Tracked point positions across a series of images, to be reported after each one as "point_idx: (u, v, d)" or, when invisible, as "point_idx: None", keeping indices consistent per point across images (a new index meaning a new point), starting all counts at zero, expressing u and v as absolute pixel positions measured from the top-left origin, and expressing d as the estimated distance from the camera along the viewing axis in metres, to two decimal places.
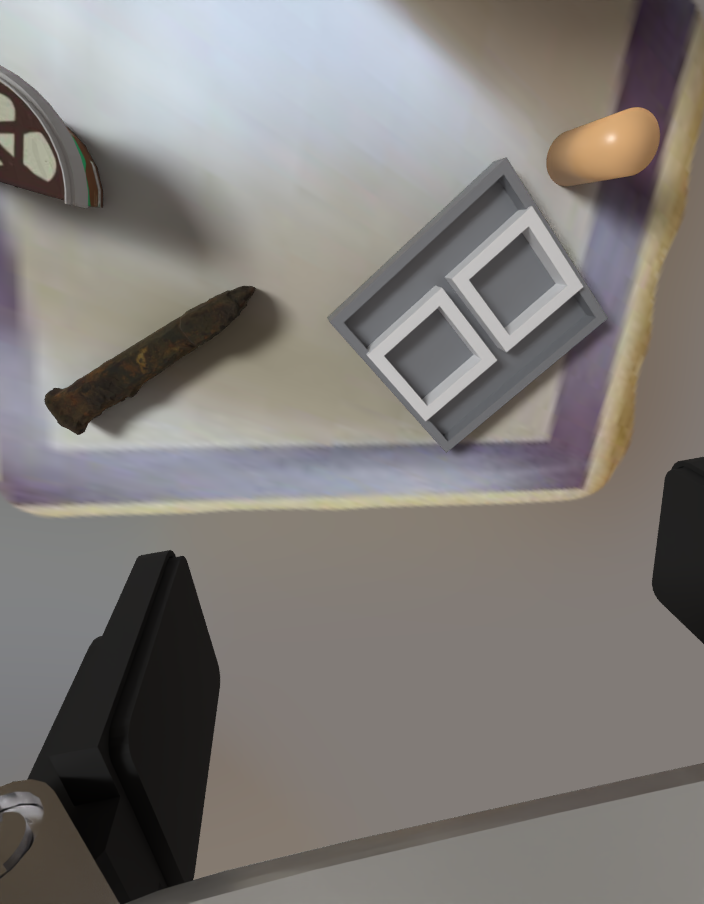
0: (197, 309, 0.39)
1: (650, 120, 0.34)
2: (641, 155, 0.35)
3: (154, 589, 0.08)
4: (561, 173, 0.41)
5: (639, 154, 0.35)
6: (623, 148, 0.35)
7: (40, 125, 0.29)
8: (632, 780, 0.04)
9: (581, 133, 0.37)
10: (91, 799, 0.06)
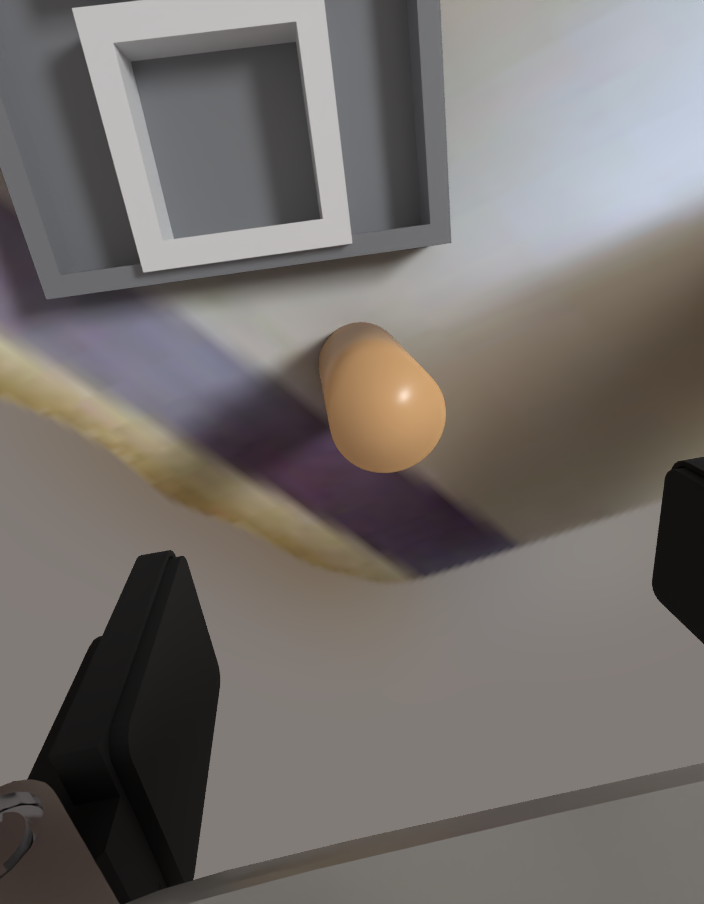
0: None
1: (398, 462, 0.18)
2: (355, 429, 0.18)
3: (154, 589, 0.08)
4: (362, 329, 0.22)
5: (359, 427, 0.18)
6: (387, 401, 0.17)
7: None
8: (632, 780, 0.04)
9: None
10: (91, 799, 0.06)
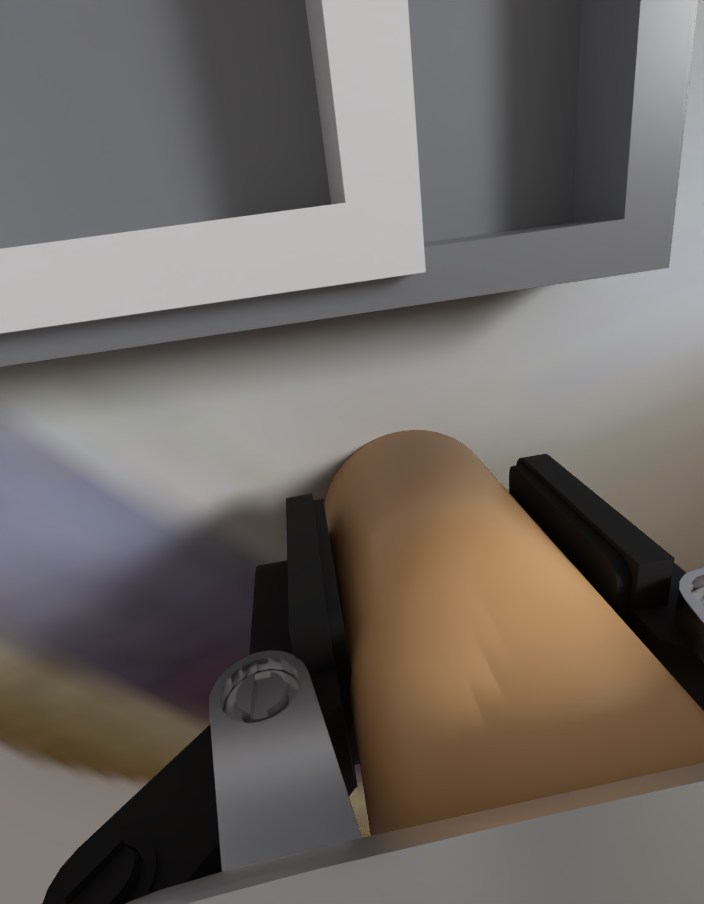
0: None
1: None
2: None
3: (313, 521, 0.09)
4: (429, 467, 0.10)
5: None
6: None
7: None
8: (632, 780, 0.04)
9: None
10: (315, 670, 0.07)
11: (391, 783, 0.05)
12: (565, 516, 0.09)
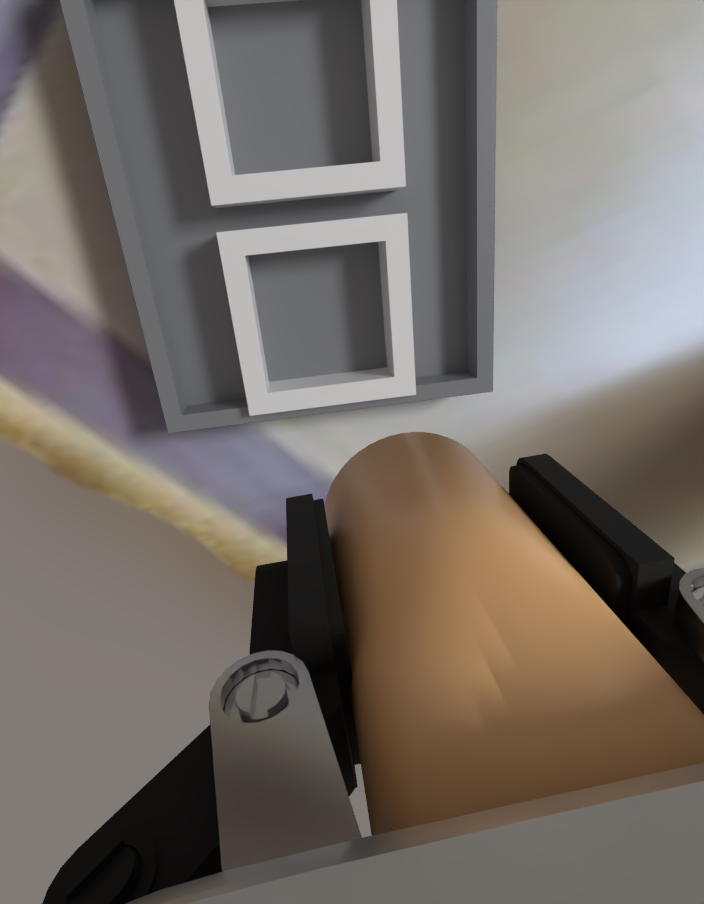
0: None
1: None
2: None
3: (313, 521, 0.09)
4: (429, 469, 0.10)
5: None
6: None
7: None
8: (631, 780, 0.04)
9: None
10: (315, 670, 0.07)
11: (392, 786, 0.05)
12: (565, 516, 0.09)
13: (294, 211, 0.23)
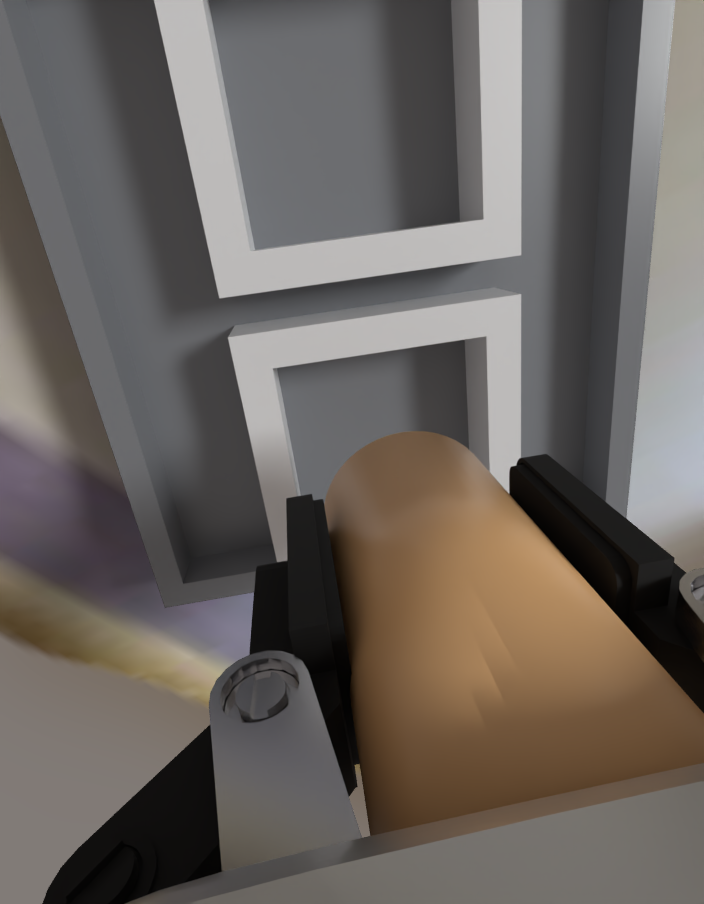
0: None
1: None
2: None
3: (313, 521, 0.09)
4: (429, 468, 0.10)
5: None
6: None
7: None
8: (631, 780, 0.04)
9: None
10: (315, 670, 0.07)
11: (391, 785, 0.05)
12: (565, 516, 0.09)
13: (342, 290, 0.16)
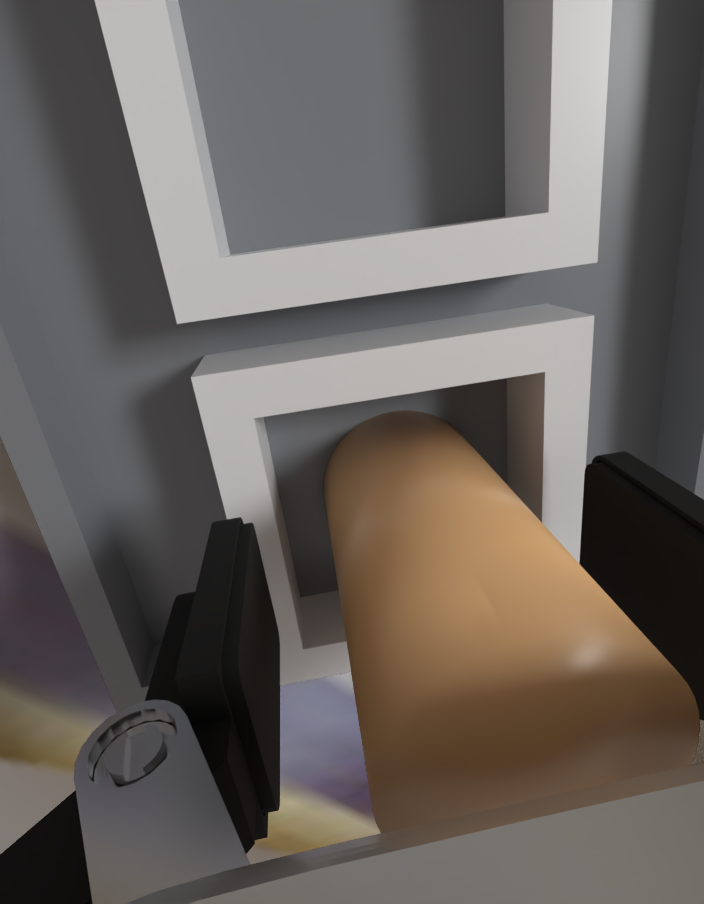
0: None
1: None
2: (445, 804, 0.06)
3: (234, 548, 0.09)
4: (415, 439, 0.11)
5: (455, 797, 0.06)
6: (543, 736, 0.06)
7: None
8: (631, 780, 0.04)
9: None
10: (207, 719, 0.06)
11: (374, 669, 0.07)
12: (663, 515, 0.08)
13: (348, 308, 0.12)
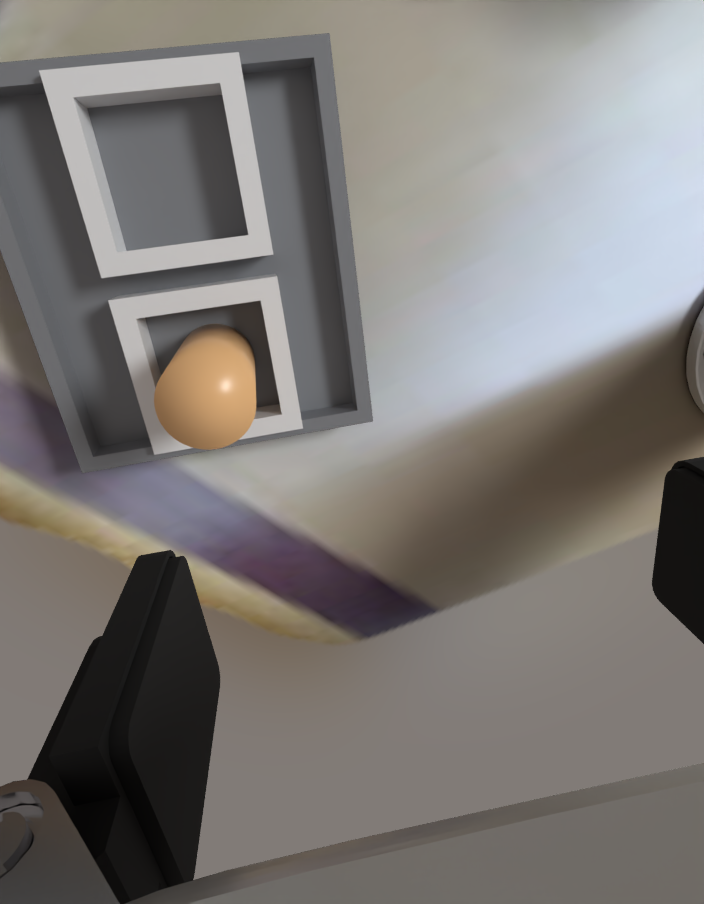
0: None
1: (220, 440, 0.22)
2: (178, 413, 0.21)
3: (154, 589, 0.08)
4: (208, 329, 0.26)
5: (181, 410, 0.21)
6: (203, 388, 0.21)
7: None
8: (632, 780, 0.04)
9: (250, 362, 0.24)
10: (91, 799, 0.06)
11: None
12: None
13: (182, 275, 0.26)
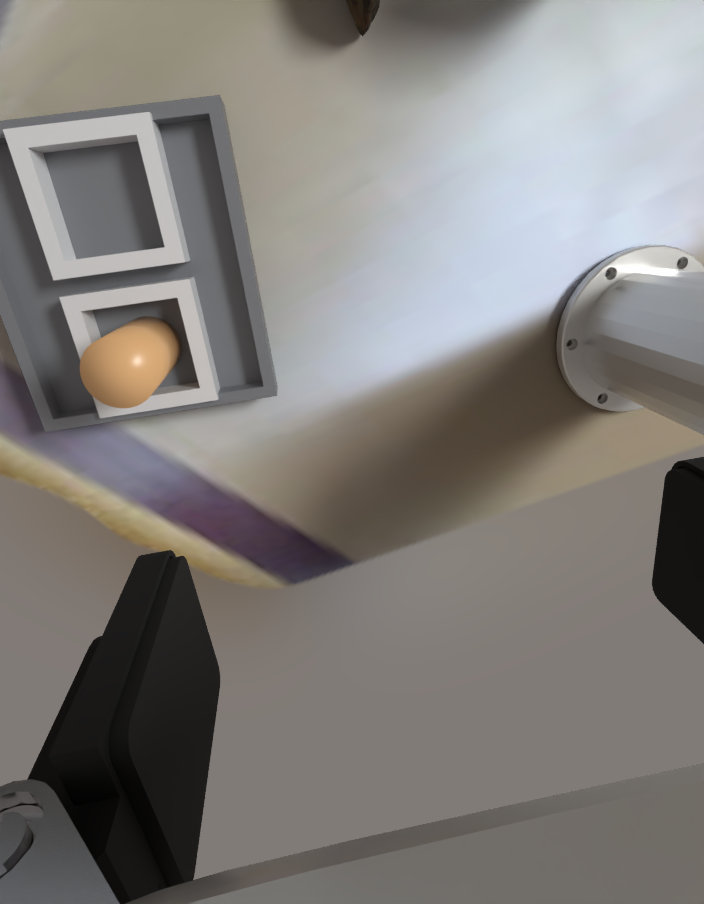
0: None
1: (131, 401, 0.29)
2: (98, 379, 0.29)
3: (154, 589, 0.08)
4: (137, 320, 0.33)
5: (100, 378, 0.29)
6: (116, 362, 0.28)
7: None
8: (631, 780, 0.04)
9: (163, 344, 0.32)
10: (91, 799, 0.06)
11: None
12: None
13: (120, 277, 0.34)
